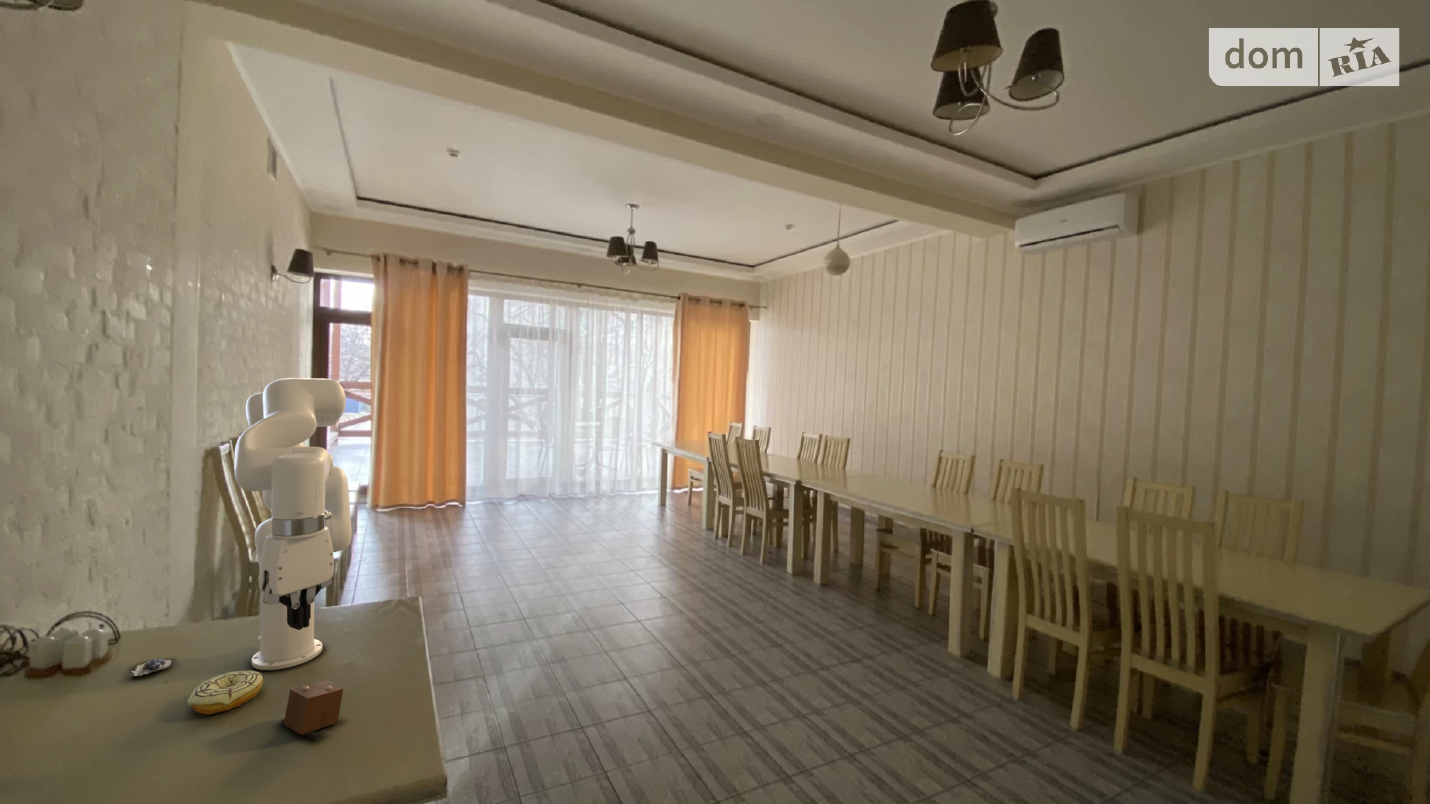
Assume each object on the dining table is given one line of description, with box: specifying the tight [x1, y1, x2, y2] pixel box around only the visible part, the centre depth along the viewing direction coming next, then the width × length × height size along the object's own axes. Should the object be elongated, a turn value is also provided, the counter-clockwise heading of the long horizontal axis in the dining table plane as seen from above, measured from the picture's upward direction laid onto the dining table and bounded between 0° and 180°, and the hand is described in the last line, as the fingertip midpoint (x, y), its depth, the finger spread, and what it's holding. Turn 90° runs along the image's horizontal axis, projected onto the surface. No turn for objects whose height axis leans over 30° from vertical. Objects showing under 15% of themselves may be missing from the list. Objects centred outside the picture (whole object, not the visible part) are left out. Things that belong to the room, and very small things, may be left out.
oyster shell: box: [130, 658, 173, 677], centre depth 119 cm, size 7×8×2 cm
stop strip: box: [280, 718, 321, 741], centre depth 100 cm, size 10×1×1 cm, turn 66°
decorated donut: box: [187, 670, 264, 716], centre depth 108 cm, size 10×11×4 cm
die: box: [283, 679, 344, 735], centre depth 102 cm, size 6×6×6 cm
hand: (298, 626), depth 100 cm, fingers closed
